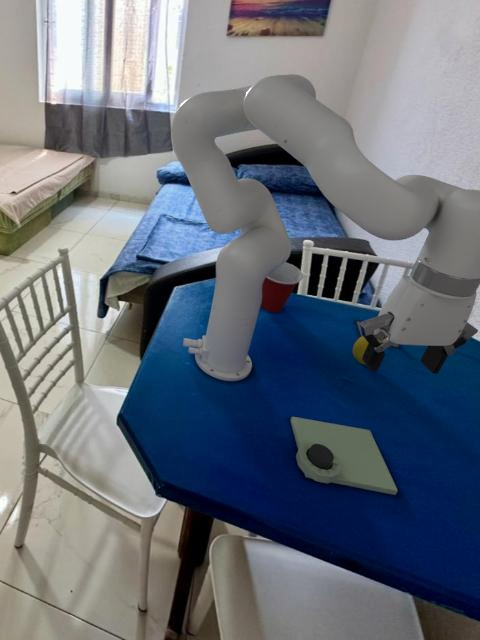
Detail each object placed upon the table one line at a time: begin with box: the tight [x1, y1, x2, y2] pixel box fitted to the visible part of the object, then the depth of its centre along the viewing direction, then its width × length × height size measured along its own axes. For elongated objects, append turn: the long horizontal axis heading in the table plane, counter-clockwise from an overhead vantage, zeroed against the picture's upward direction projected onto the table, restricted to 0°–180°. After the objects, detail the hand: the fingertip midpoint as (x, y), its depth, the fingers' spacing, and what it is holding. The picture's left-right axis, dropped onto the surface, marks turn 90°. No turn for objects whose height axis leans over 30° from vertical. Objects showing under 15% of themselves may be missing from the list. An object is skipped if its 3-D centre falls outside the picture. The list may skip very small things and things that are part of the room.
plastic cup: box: [260, 261, 304, 313], centre depth 111 cm, size 11×11×12 cm
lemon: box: [352, 336, 381, 366], centre depth 92 cm, size 6×6×8 cm
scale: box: [290, 416, 398, 496], centre depth 72 cm, size 15×13×3 cm
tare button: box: [308, 444, 334, 469], centre depth 69 cm, size 4×4×2 cm
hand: (398, 366), depth 66 cm, fingers open, 9 cm apart
